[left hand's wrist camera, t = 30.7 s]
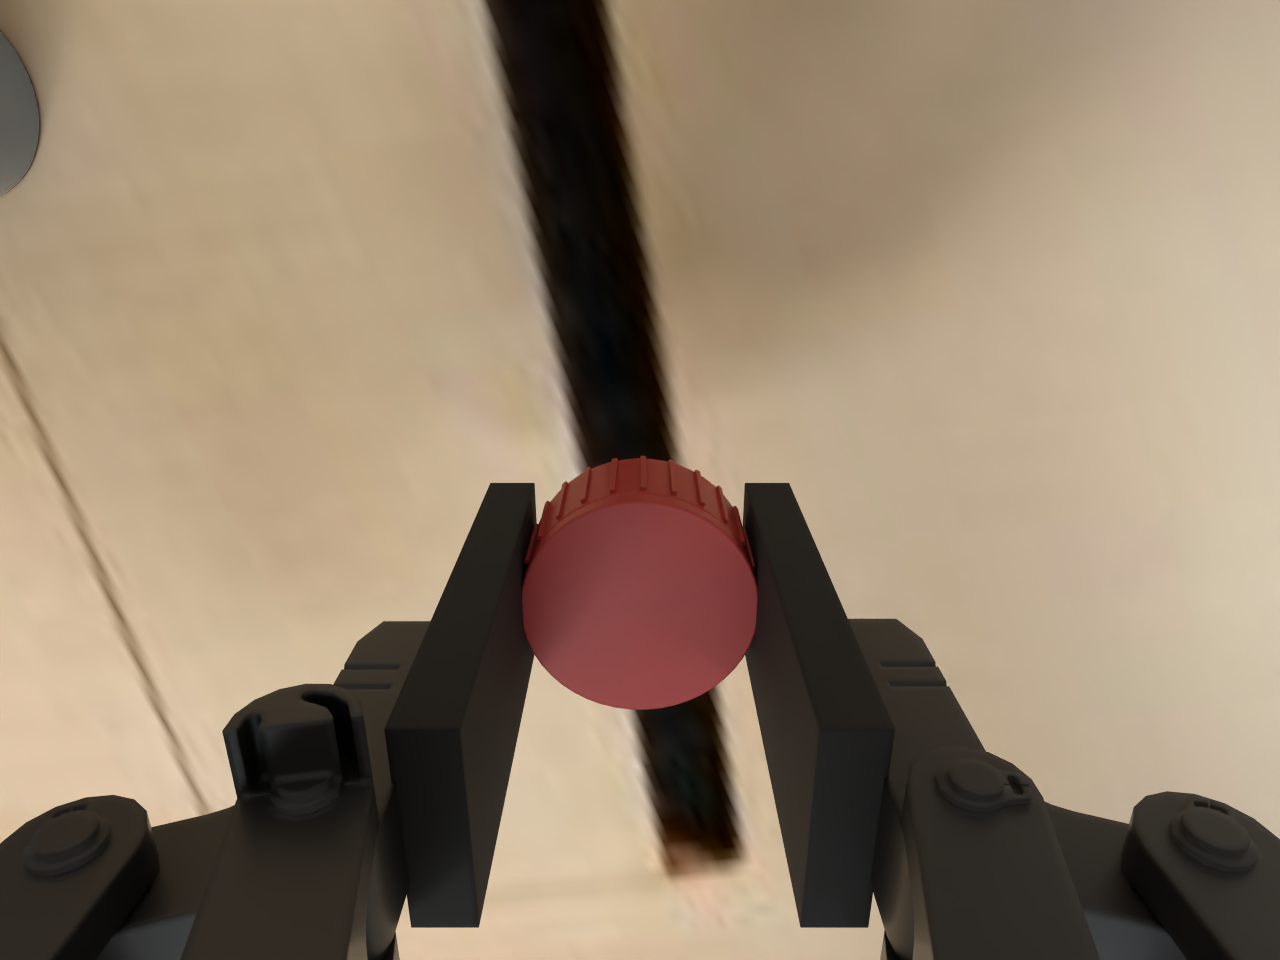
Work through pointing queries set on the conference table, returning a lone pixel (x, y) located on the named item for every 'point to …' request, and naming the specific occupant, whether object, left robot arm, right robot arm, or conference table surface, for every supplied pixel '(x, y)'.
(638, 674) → the cap
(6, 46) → the bottle
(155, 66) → the conference table surface
